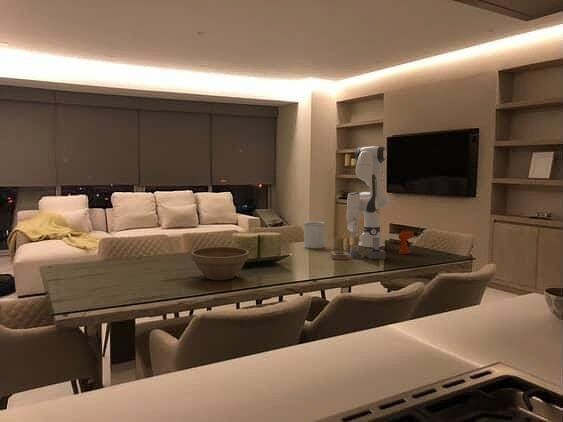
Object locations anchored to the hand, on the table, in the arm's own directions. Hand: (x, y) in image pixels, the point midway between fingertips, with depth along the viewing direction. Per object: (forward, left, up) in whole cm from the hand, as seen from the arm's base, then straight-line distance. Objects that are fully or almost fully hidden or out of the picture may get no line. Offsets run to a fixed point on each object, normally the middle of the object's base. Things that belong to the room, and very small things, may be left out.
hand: (352, 238), depth 299 cm
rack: (+15, -11, -10) cm, 21 cm away
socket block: (+13, +12, -10) cm, 21 cm away
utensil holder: (-27, -23, -10) cm, 36 cm away
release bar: (+6, 0, -10) cm, 12 cm away
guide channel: (+10, 0, -10) cm, 15 cm away
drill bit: (+13, +12, -10) cm, 21 cm away
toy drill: (-3, +39, -10) cm, 41 cm away
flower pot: (+67, -79, -10) cm, 104 cm away
